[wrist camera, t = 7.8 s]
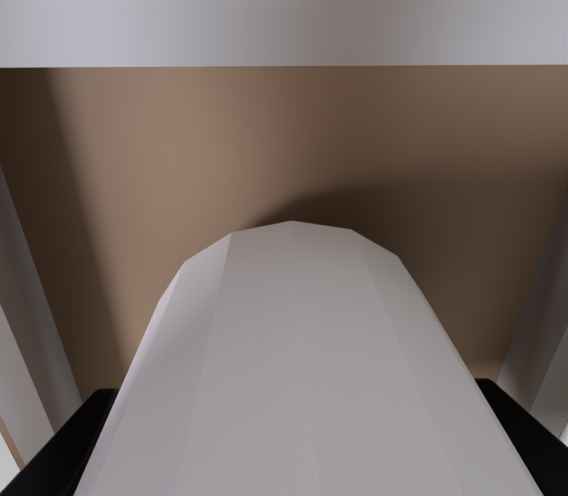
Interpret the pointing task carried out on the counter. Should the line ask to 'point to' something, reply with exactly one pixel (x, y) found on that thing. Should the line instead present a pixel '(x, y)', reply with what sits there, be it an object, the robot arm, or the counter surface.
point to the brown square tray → (277, 172)
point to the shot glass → (300, 382)
